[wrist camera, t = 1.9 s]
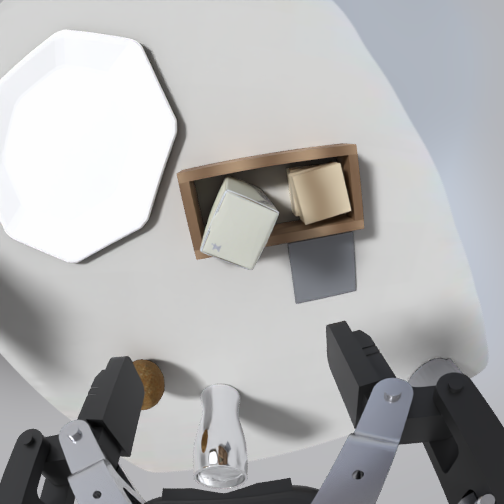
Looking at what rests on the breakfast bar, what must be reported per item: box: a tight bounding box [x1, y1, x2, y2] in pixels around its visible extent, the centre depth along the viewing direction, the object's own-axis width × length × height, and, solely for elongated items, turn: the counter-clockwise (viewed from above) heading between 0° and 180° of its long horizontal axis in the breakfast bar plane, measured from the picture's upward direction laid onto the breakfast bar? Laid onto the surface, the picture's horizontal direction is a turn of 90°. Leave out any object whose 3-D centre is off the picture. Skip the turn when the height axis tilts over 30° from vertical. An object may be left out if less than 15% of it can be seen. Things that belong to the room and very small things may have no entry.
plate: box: [0, 30, 177, 263], centre depth 30 cm, size 28×28×2 cm
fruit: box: [133, 359, 165, 410], centre depth 38 cm, size 6×6×8 cm
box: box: [200, 175, 279, 270], centre depth 28 cm, size 5×4×13 cm
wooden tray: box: [177, 144, 364, 260], centre depth 33 cm, size 18×9×4 cm, turn 100°
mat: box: [288, 231, 356, 304], centre depth 38 cm, size 8×8×1 cm
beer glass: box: [193, 384, 248, 489], centre depth 37 cm, size 7×7×15 cm
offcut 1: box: [286, 163, 325, 217], centre depth 34 cm, size 5×5×2 cm
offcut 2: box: [288, 162, 351, 225], centre depth 31 cm, size 5×5×2 cm
